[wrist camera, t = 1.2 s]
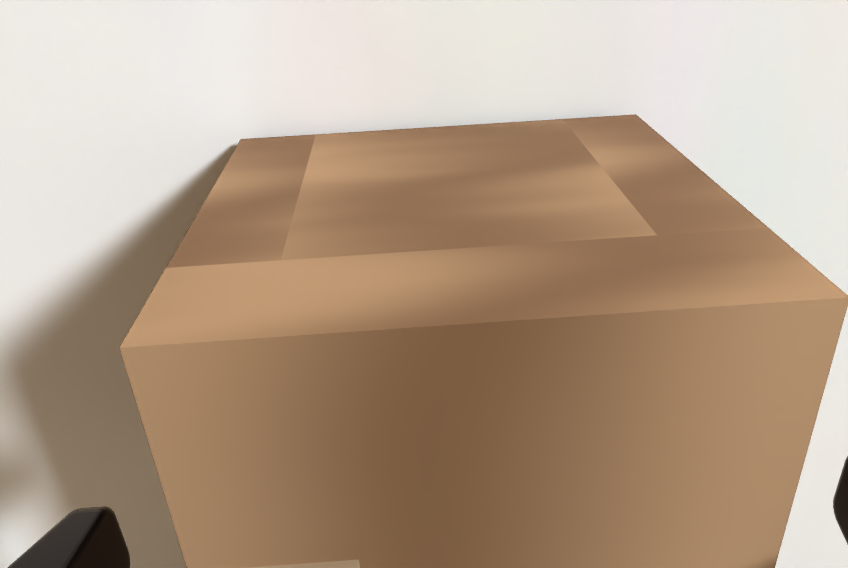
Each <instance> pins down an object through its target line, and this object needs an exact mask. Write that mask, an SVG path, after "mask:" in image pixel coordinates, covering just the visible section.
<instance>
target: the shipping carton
mask: <svg viewBox="0 0 848 568" xmlns="http://www.w3.org/2000/svg"><path fill="white" fill-rule="evenodd" d="M847 306H848V295H846V294H845V293H844V292H843V291H842V290H841V289H839V288H838V287H837V286H836V285H835V284H834V283H832V282H831V281H830V280H829V279H828V278H827V277H825V276H824V275H823V274H822V273H821V272H820V271H818V270H817V269H816V268H815V267H814V266H813V265H811V264H810V263H809V262H808V261H807V260H806V259H804V258H803V257H802V256H801V255H800V254H799V253H797V252H796V251H795V250H794V249H793V248H791V247H790V246H789V245H788V244H787V243H786V242H784V241H783V240H782V239H781V238H780V237H779V236H777V235H776V234H775V233H774V232H773V231H772V230H770V229H769V228H768V227H767V226H766V225H765V224H763V223H762V222H761V221H760V220H759V219H758V218H756V217H755V216H754V215H753V214H752V213H751V212H749V211H748V210H747V209H746V208H745V207H744V206H742V205H741V204H740V203H739V202H738V201H736V200H735V199H734V198H733V197H732V196H731V195H729V194H728V193H727V192H726V191H725V190H724V189H722V188H721V187H720V186H719V185H718V184H717V183H715V182H714V181H713V180H712V179H711V178H710V177H708V176H707V175H706V174H705V173H704V172H703V171H701V170H700V169H699V168H698V167H697V166H696V165H694V164H693V163H692V162H691V161H690V160H689V159H687V158H686V157H685V156H684V155H683V154H681V153H680V152H679V151H678V150H677V149H676V148H674V147H673V146H672V145H671V144H670V143H669V142H667V141H666V140H665V139H664V138H663V137H662V136H660V135H659V134H658V133H657V132H656V131H655V130H653V129H652V128H651V127H650V126H649V125H648V124H646V123H645V122H644V121H643V120H642V119H641V118H639V117H638V116H637V115H621V116H605V117H589V118H573V119H557V120H541V121H525V122H509V123H493V124H477V125H461V126H445V127H429V128H413V129H397V130H381V131H365V132H349V133H333V134H317V135H301V136H285V137H269V138H253V139H241V140H240V141H239V143H238V145H237V147H236V148H235V150H234V152H233V153H232V155H231V157H230V159H229V160H228V162H227V164H226V166H225V167H224V169H223V171H222V172H221V174H220V176H219V178H218V179H217V181H216V183H215V184H214V186H213V188H212V190H211V191H210V193H209V195H208V196H207V198H206V200H205V202H204V203H203V205H202V207H201V208H200V210H199V212H198V214H197V215H196V217H195V219H194V220H193V222H192V224H191V226H190V227H189V229H188V231H187V232H186V234H185V236H184V238H183V239H182V241H181V243H180V245H179V246H178V248H177V250H176V251H175V253H174V255H173V257H172V258H171V260H170V262H169V263H168V265H167V267H166V269H165V270H164V272H163V274H162V275H161V277H160V279H159V281H158V282H157V284H156V286H155V287H154V289H153V291H152V293H151V294H150V296H149V298H148V299H147V301H146V303H145V305H144V306H143V308H142V310H141V312H140V313H139V315H138V317H137V318H136V320H135V322H134V324H133V325H132V327H131V329H130V330H129V332H128V334H127V336H126V337H125V339H124V341H123V342H122V344H121V346H120V351H121V355H122V358H123V361H124V364H125V368H126V371H127V374H128V378H129V381H130V384H131V387H132V391H133V394H134V397H135V400H136V404H137V407H138V410H139V413H140V417H141V420H142V423H143V426H144V430H145V433H146V436H147V440H148V443H149V446H150V449H151V453H152V456H153V459H154V462H155V466H156V469H157V472H158V475H159V479H160V482H161V485H162V488H163V492H164V495H165V498H166V502H167V505H168V508H169V511H170V515H171V518H172V521H173V524H174V528H175V531H176V534H177V537H178V541H179V544H180V547H181V550H182V554H183V557H184V560H185V564H186V567H187V568H775V565H776V561H777V558H778V554H779V550H780V547H781V543H782V540H783V536H784V532H785V529H786V525H787V522H788V518H789V514H790V511H791V507H792V504H793V500H794V496H795V493H796V489H797V486H798V482H799V479H800V475H801V471H802V468H803V464H804V461H805V457H806V453H807V450H808V446H809V443H810V439H811V435H812V432H813V428H814V425H815V421H816V417H817V414H818V410H819V407H820V403H821V399H822V396H823V392H824V389H825V385H826V381H827V378H828V374H829V371H830V367H831V364H832V360H833V356H834V353H835V349H836V346H837V342H838V338H839V335H840V331H841V328H842V324H843V320H844V317H845V313H846V310H847Z"/></svg>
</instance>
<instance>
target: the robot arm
mask: <svg viewBox="0 0 848 568" xmlns="http://www.w3.org/2000/svg"><path fill="white" fill-rule="evenodd" d="M833 508H834V514H835V517H836V520H837V522H838V524H839V527H840V529H841V531H842V533H843V535H844V537H845V540H846V542H847V544H848V457H847V458H846V460H845V463H844V467H843V470H842V473H841V476H840V479H839V483H838V486H837V489H836V492H835V495H834V500H833ZM8 568H130V556H129V552H128V548H127V546H126V543H125V540H124V537H123V535H122V532H121V529H120V526H119V523H118V521H117V518H116V515H115V513H114V511H113V510H112V509H110V508H109V507H92V508H80V509H76V510H74V511H72V512H71V513H69V514H68V515H67V516H66V517H65V518H63V519H62V520H61V521H60V522H59V523H58V524H57V525H55V526H54V527H53V528H52V529H51V530H50V531H49V532H47V533H46V534H45V535H44V536H43V537H42V538H41V539H40V540H38V541H37V542H36V543H35V544H34V545H33V546H32V547H30V548H29V549H28V550H27V551H26V552H25V553H24V554H22V555H21V556H20V557H19V558H18V559H17V560H16V561H14V562H13V563H12V564H11V565H10V566H9V567H8Z"/></svg>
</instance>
